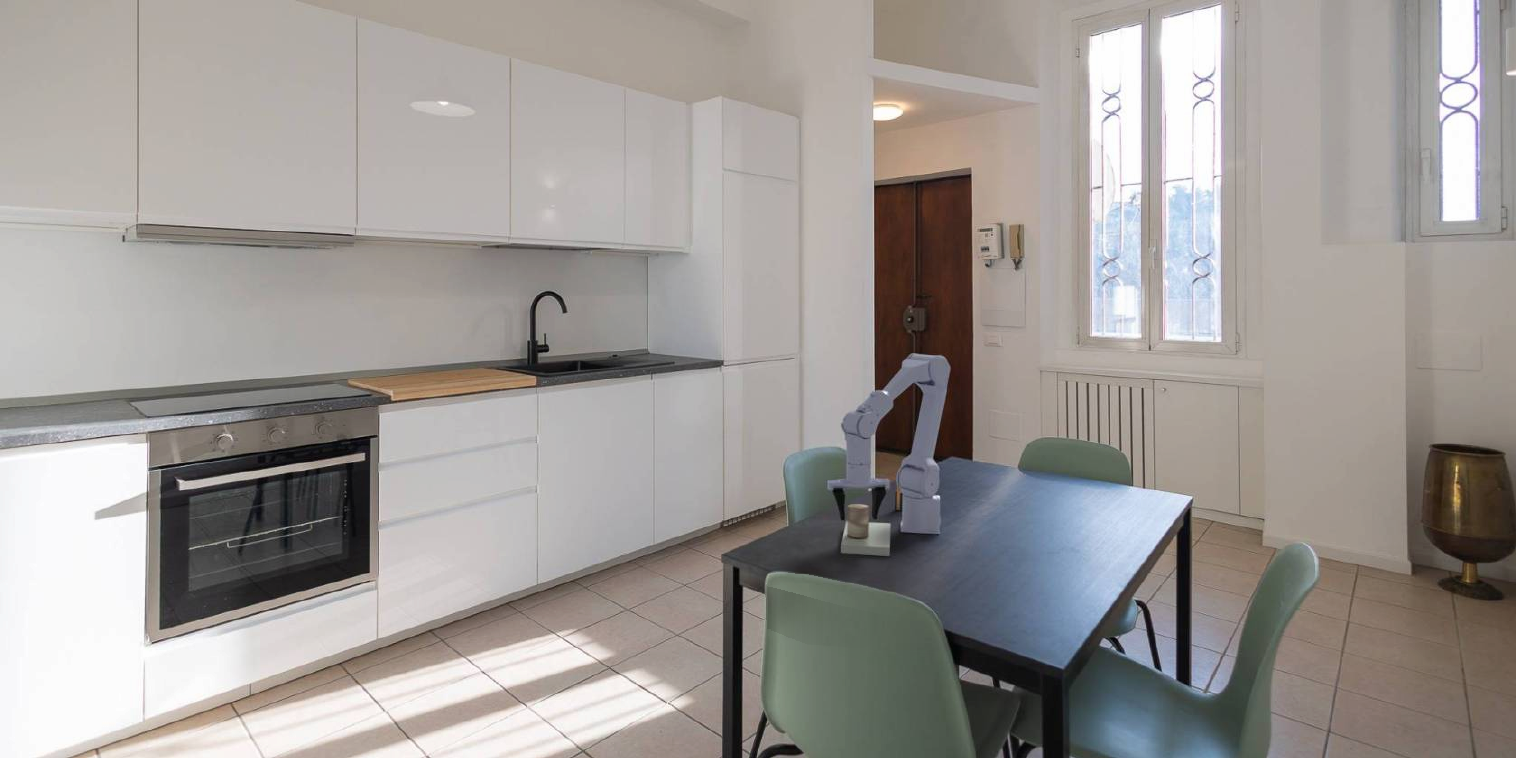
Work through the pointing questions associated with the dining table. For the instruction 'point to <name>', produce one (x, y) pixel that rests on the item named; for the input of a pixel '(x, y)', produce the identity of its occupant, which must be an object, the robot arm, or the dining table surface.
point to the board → (869, 541)
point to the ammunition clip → (899, 499)
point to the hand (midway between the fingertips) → (858, 518)
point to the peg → (858, 521)
